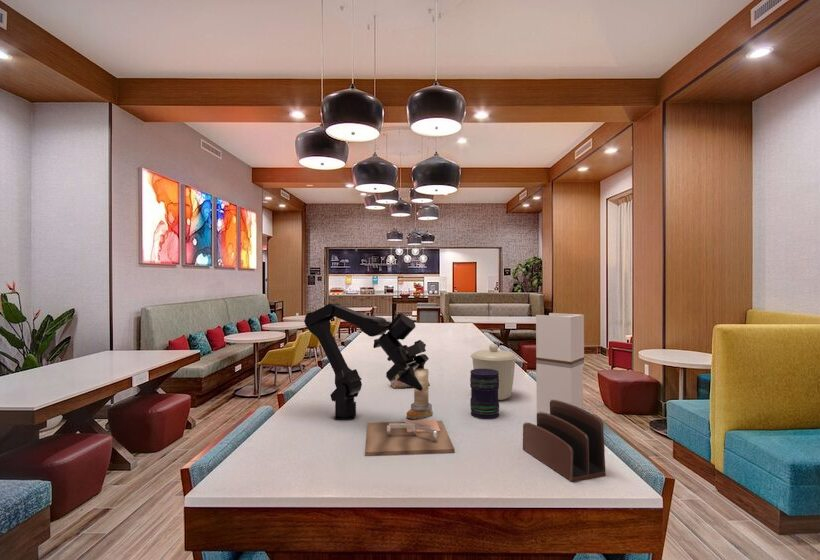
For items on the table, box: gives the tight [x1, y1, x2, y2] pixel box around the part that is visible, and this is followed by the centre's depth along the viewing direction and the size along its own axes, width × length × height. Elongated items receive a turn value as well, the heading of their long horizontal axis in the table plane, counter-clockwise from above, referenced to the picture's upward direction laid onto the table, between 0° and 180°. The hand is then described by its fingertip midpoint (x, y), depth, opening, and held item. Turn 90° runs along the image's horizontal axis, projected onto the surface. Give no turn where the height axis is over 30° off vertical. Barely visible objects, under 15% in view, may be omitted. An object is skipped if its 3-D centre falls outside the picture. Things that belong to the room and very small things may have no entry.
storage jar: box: [469, 368, 500, 420], centre depth 144 cm, size 10×10×15 cm
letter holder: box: [522, 400, 606, 483], centre depth 107 cm, size 10×20×14 cm, turn 19°
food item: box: [389, 374, 411, 389], centre depth 183 cm, size 14×8×10 cm, turn 100°
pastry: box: [406, 408, 434, 420], centre depth 143 cm, size 9×7×4 cm
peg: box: [410, 368, 433, 412], centre depth 129 cm, size 6×6×12 cm
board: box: [364, 420, 455, 457], centre depth 123 cm, size 24×23×1 cm
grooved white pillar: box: [535, 312, 585, 414], centre depth 136 cm, size 11×11×35 cm
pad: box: [404, 419, 440, 433], centre depth 130 cm, size 10×10×1 cm
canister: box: [470, 343, 518, 401], centre depth 166 cm, size 18×18×21 cm
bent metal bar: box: [387, 423, 437, 443], centre depth 121 cm, size 15×4×4 cm, turn 71°
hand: (425, 388), depth 128 cm, fingers closed on peg, 4 cm apart
